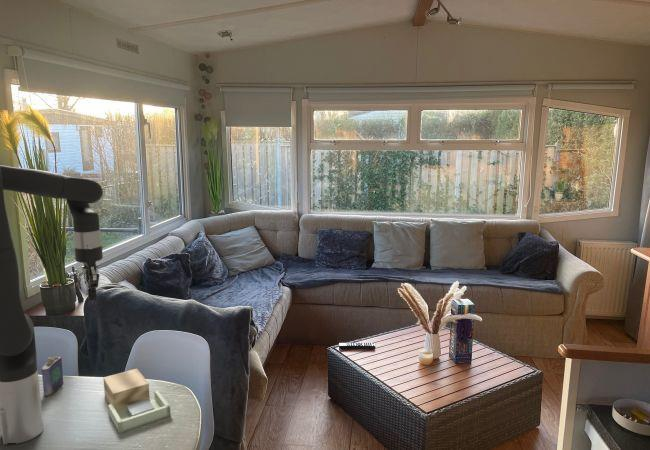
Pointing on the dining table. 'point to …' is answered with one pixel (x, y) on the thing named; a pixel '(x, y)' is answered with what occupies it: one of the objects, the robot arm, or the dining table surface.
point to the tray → (127, 422)
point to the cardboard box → (126, 388)
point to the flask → (52, 375)
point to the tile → (139, 407)
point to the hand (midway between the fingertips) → (92, 299)
